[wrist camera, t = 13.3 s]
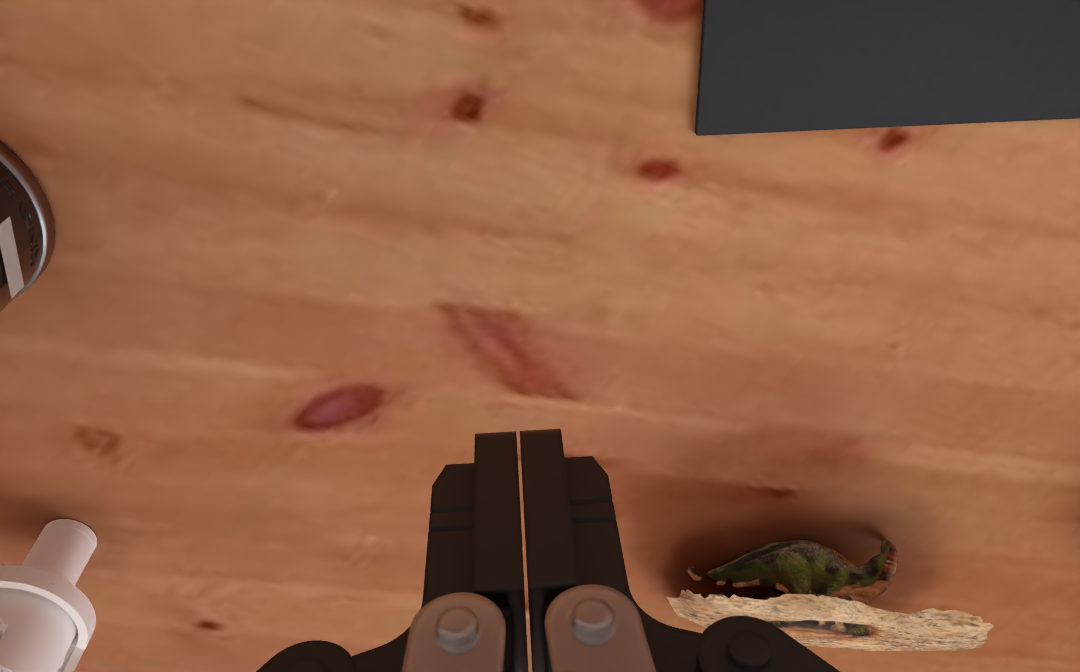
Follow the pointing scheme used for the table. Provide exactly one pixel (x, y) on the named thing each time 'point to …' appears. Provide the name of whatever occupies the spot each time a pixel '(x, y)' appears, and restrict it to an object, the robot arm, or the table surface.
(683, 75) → the table surface
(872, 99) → the mat
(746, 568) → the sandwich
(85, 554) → the strainer
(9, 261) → the robot arm
